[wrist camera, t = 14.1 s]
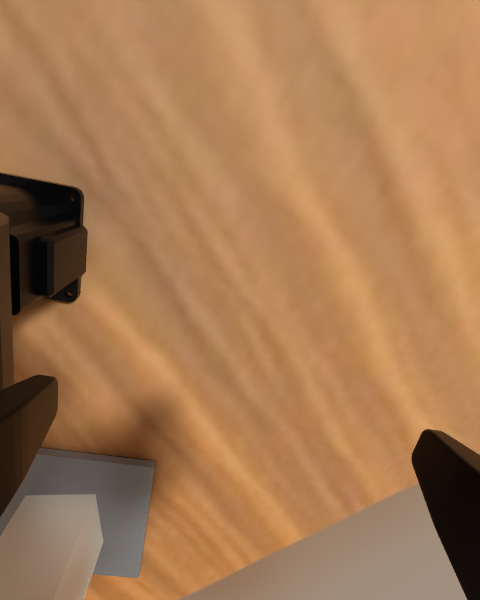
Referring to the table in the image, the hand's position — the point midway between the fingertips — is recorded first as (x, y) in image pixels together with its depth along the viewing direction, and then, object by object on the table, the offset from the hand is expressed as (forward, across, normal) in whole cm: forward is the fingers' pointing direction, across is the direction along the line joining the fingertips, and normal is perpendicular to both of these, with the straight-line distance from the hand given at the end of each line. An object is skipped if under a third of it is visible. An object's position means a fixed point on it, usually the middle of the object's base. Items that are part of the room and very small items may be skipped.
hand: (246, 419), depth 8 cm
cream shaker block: (+12, +9, +21) cm, 26 cm away
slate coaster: (+13, +9, +21) cm, 26 cm away
